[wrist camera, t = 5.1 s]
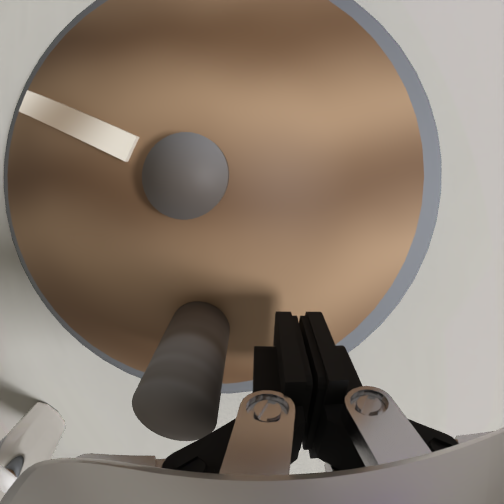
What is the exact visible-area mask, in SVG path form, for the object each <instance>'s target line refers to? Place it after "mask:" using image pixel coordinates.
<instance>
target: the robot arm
mask: <svg viewBox="0 0 504 504" xmlns="http://www.w3.org/2000/svg"><path fill="white" fill-rule="evenodd" d="M301 444H302V445H303V449H304V450H309V453H310V458H319V459H321V460H322V461H324V462H325V465H324V466H325V471H326V472H322V473H310V474H294V475H289V470H290V464H292V463H293V462H294V461H295V460H296V459H297V458H298V453H299V450H300V448H301ZM0 504H504V428H501V429H499V430H496V431H492V432H485V433H478V434H469V435H460V436H456V438H455V439H454V438H452V437H451V436H449V435H447V434H445V433H442V432H440V431H437V430H434V429H432V428H429V427H427V426H424V425H422V424H419V423H417V422H414V421H412V420H409V419H407V418H406V416H405V415H404V414H403V412H402V411H401V409H400V408H399V407H398V405H397V404H396V403H395V401H394V400H393V399H392V397H391V396H390V395H389V394H388V393H387V392H385V391H383V390H381V389H379V388H376V387H370V386H362V384H361V382H360V379H359V377H358V375H357V373H356V370H355V368H354V366H353V364H352V361H351V359H350V357H349V355H348V352H347V350H346V348H345V347H344V346H343V345H338V346H336V345H335V343H334V340H333V338H332V335H331V333H330V331H329V328H328V326H327V323H326V321H325V319H324V316H323V314H322V312H306V313H305V316H300V319H299V321H298V318H297V316H292V313H291V312H282V311H276V313H275V325H274V340H273V346H254V360H253V393H251V394H249V395H247V396H246V397H245V398H244V399H243V400H242V402H241V404H240V407H239V411H238V414H237V417H236V419H234V420H232V421H231V422H229V423H227V424H226V425H224V426H222V427H221V428H219V429H217V430H215V431H214V432H212V433H210V434H208V435H206V436H205V437H203V438H201V439H199V440H197V441H195V442H194V443H192V444H190V445H188V446H186V447H184V448H182V449H180V450H178V451H176V452H174V453H173V454H171V455H170V456H168V457H167V458H166V459H156V457H155V456H129V455H106V454H93V453H91V454H83V455H80V456H78V457H76V458H58V459H50V460H44V461H41V462H38V463H35V464H33V465H32V466H30V467H28V468H27V469H26V470H25V471H24V472H23V473H22V474H21V475H20V476H19V477H18V478H17V479H16V480H15V482H14V483H13V484H12V485H11V487H10V488H9V489H8V491H7V492H6V494H5V495H4V497H3V498H2V500H1V501H0Z"/></svg>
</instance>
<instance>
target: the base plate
mask: <svg viewBox="0 0 504 504" xmlns="http://www.w3.org/2000/svg"><path fill="white" fill-rule="evenodd" d="M106 1H108V0H96V1H95V2H94V3H92V4H91V5H90V6H88V7H87V8H86V9H85V10H83V11H82V12H81V13H80V14H78V15H77V16H76V17H75V18H74V19H73V20H72V21H71V22H70V23H69V24H68V25H67V26H66V27H65V28H64V29H63V30H62V31H61V32H60V33H59V34H58V36H57V37H56V38H55V39H54V40H53V42H52V43H51V44H50V46H49V47H48V48H47V50H46V51H45V52H44V54H43V55H42V56H41V58H40V59H39V61H38V63H37V64H36V66H35V68H34V70H33V71H32V73H31V75H30V77H29V78H28V80H27V82H26V84H25V86H24V89H23V91H22V93H21V96H20V98H19V101H18V103H17V106H16V108H15V112H14V115H13V119H12V122H11V126H10V130H9V134H8V140H7V146H6V153H5V161H4V194H5V204H6V213H7V218H8V222H9V227H10V231H11V235H12V239H13V242H14V245H15V248H16V251H17V253H18V256H19V259H20V262H21V264H22V266H23V268H24V270H25V272H26V274H27V276H28V278H29V280H30V282H31V284H32V286H33V287H34V289H35V291H36V292H37V294H38V295H39V297H40V298H41V300H42V301H43V303H44V304H45V306H46V307H47V308H48V310H49V311H50V312H51V313H52V314H53V316H54V317H55V318H56V319H57V320H58V321H59V323H60V324H61V325H62V326H63V327H64V328H65V329H66V330H67V331H68V332H69V333H70V334H71V335H72V336H74V337H75V338H76V339H77V340H78V341H79V342H80V343H81V344H82V345H84V346H85V347H86V348H88V349H89V350H90V351H92V352H93V353H95V354H96V355H97V356H99V357H100V358H102V359H103V360H105V361H107V362H108V363H110V364H112V365H114V366H116V367H117V368H119V369H121V370H123V371H125V372H127V373H129V374H131V375H134V376H136V377H139V378H141V379H142V377H143V375H144V373H145V372H142V371H139V370H136V369H134V368H132V367H129V366H127V365H125V364H123V363H121V362H119V361H117V360H115V359H113V358H111V357H110V356H108V355H106V354H105V353H103V352H102V351H100V350H99V349H97V348H96V347H94V346H92V345H91V344H90V343H89V342H87V341H86V340H85V339H84V338H82V337H81V336H80V335H79V334H78V333H76V332H75V331H74V330H73V329H72V328H71V327H70V326H69V325H68V324H67V323H66V322H65V321H64V320H63V319H62V318H61V317H60V316H59V315H58V313H57V312H56V311H55V310H54V309H53V307H52V306H51V305H50V303H49V302H48V301H47V299H46V298H45V297H44V295H43V294H42V293H41V291H40V289H39V288H38V286H37V284H36V282H35V281H34V279H33V277H32V275H31V274H30V272H29V270H28V268H27V265H26V263H25V261H24V258H23V256H22V254H21V251H20V249H19V246H18V242H17V239H16V236H15V232H14V228H13V225H12V219H11V213H10V207H9V200H8V177H7V174H8V160H9V150H10V144H11V139H12V135H13V130H14V126H15V122H16V119H17V116H18V113H19V109H20V106H21V104H22V101H23V99H24V96H25V94H26V92H27V90H28V88H29V86H30V84H31V82H32V80H33V78H34V76H35V75H36V73H37V72H38V70H39V69H40V67H41V65H42V64H43V62H44V61H45V59H46V58H47V56H48V55H49V54H50V52H51V51H52V50H53V49H54V48H55V46H56V45H57V44H58V43H59V42H60V40H61V39H62V38H63V37H64V36H65V35H66V34H67V33H68V32H69V31H70V30H71V29H72V28H73V27H74V26H75V25H76V24H77V23H78V22H80V21H81V20H82V19H83V18H84V17H85V16H86V15H88V14H89V13H90V12H92V11H93V10H95V9H96V8H97V7H99V6H100V5H102V4H103V3H105V2H106ZM329 1H330V2H332V3H333V4H335V5H336V6H337V7H339V8H340V9H341V10H343V11H344V12H346V13H347V14H348V15H350V16H351V17H352V18H353V19H354V20H355V21H356V22H357V23H358V24H359V25H361V26H362V27H363V28H364V29H365V30H366V31H367V32H368V33H369V34H370V35H371V36H372V37H373V39H374V40H375V41H376V42H377V44H378V45H379V46H380V47H381V49H382V50H383V51H384V53H385V54H386V55H387V57H388V58H389V60H390V61H391V62H392V64H393V66H394V68H395V69H396V71H397V73H398V75H399V77H400V78H401V80H402V82H403V84H404V86H405V88H406V90H407V93H408V96H409V98H410V101H411V104H412V106H413V109H414V112H415V115H416V118H417V123H418V127H419V132H420V137H421V142H422V149H423V163H424V185H423V197H422V206H421V211H420V215H419V220H418V224H417V228H416V233H415V236H414V238H413V241H412V244H411V247H410V249H409V252H408V254H407V257H406V259H405V262H404V264H403V266H402V267H401V269H400V271H399V273H398V275H397V277H396V278H395V280H394V282H393V284H392V286H391V287H390V288H389V290H388V291H387V293H386V294H385V295H384V297H383V298H382V299H381V301H380V302H379V304H378V305H377V306H376V308H375V309H374V310H373V311H372V312H371V313H370V314H369V315H368V316H367V317H366V318H365V319H364V320H363V321H362V322H361V324H360V325H359V326H358V327H357V328H356V329H355V330H353V331H352V332H351V333H350V334H348V335H347V336H346V337H345V338H343V339H342V340H341V341H340V342H338V343H337V344H336V346H338V345H343V346H344V347H345V348H346V350H347V352H349V351H351V350H352V349H354V348H355V347H356V346H358V345H359V344H360V343H361V342H363V341H364V340H365V339H366V338H367V337H368V336H369V335H370V334H371V333H372V332H374V331H375V330H376V329H377V328H378V327H379V326H380V325H381V324H382V323H383V321H384V320H385V319H386V318H387V317H388V316H389V314H390V313H391V312H392V311H393V310H394V308H395V307H396V306H397V305H398V304H399V302H400V301H401V299H402V298H403V296H404V295H405V293H406V291H407V290H408V288H409V287H410V285H411V284H412V282H413V280H414V279H415V277H416V275H417V273H418V271H419V268H420V266H421V264H422V262H423V260H424V257H425V255H426V253H427V251H428V248H429V244H430V241H431V238H432V235H433V231H434V228H435V224H436V220H437V214H438V208H439V202H440V195H441V154H440V146H439V138H438V132H437V127H436V123H435V120H434V116H433V113H432V109H431V106H430V103H429V100H428V97H427V95H426V93H425V90H424V88H423V86H422V84H421V81H420V79H419V77H418V75H417V73H416V71H415V69H414V68H413V66H412V64H411V63H410V61H409V60H408V58H407V57H406V55H405V53H404V52H403V50H402V49H401V47H400V46H399V45H398V43H397V42H396V41H395V40H394V39H393V37H392V36H391V35H390V34H389V33H388V32H387V31H386V29H385V28H384V27H383V26H382V25H381V24H380V23H379V22H378V21H377V20H376V19H375V18H374V17H373V16H372V15H370V14H369V13H368V12H367V11H366V10H365V9H363V8H362V7H361V6H360V5H359V4H357V3H356V2H355V1H354V0H329ZM248 391H253V380H251V381H245V382H239V383H229V384H222V389H221V393H238V392H248Z"/></svg>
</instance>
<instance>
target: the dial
mask: <svg viewBox="0 0 504 504" xmlns="http://www.w3.org/2000/svg"><path fill="white" fill-rule="evenodd" d="M7 177H8V200H9V207H10V213H11V219H12V225H13V228H14V232H15V236H16V239H17V242H18V246H19V249H20V251H21V254H22V256H23V258H24V261H25V263H26V265H27V268H28V270H29V272H30V274H31V275H32V277H33V279H34V281H35V282H36V284H37V286H38V288H39V289H40V291H41V293H42V294H43V295H44V297H45V298H46V299H47V301H48V302H49V303H50V305H51V306H52V307H53V309H54V310H55V311H56V312H57V313H58V315H59V316H60V317H61V318H62V319H63V320H64V321H65V322H66V323H67V324H68V325H69V326H70V327H71V328H72V329H73V330H74V331H75V332H76V333H78V334H79V335H80V336H81V337H82V338H84V339H85V340H86V341H87V342H89V343H90V344H91V345H92V346H94V347H96V348H97V349H99V350H100V351H102V352H103V353H105V354H106V355H108V356H110V357H111V358H113V359H115V360H117V361H119V362H121V363H123V364H125V365H127V366H129V367H132V368H134V369H136V370H139V371H142V372H145V373H144V375H143V377H142V379H141V381H140V383H139V385H138V387H137V389H136V391H135V393H134V395H133V399H132V407H133V410H134V413H135V415H136V416H137V418H138V419H139V420H140V422H141V423H142V424H143V425H145V426H146V427H147V428H148V429H150V430H151V431H153V432H155V433H156V434H158V435H160V436H163V437H166V438H169V439H173V440H179V441H193V440H198V439H201V438H203V437H205V436H206V435H208V434H210V433H211V432H212V431H213V430H214V429H215V427H216V424H217V417H218V410H219V403H220V396H221V389H222V384H229V383H239V382H245V381H251V380H253V360H254V346H273V340H274V325H275V313H276V311H282V312H291V313H292V316H297V318H298V321H299V319H300V316H305V313H306V312H322V314H323V316H324V319H325V321H326V323H327V326H328V328H329V331H330V333H331V335H332V338H333V340H334V343H335V345H336V344H337V343H338V342H340V341H341V340H342V339H343V338H345V337H346V336H347V335H348V334H350V333H351V332H352V331H353V330H355V329H356V328H357V327H358V326H359V325H360V324H361V322H362V321H363V320H364V319H365V318H366V317H367V316H368V315H369V314H370V313H371V312H372V311H373V310H374V309H375V308H376V306H377V305H378V304H379V302H380V301H381V299H382V298H383V297H384V295H385V294H386V293H387V291H388V290H389V288H390V287H391V286H392V284H393V282H394V280H395V278H396V277H397V275H398V273H399V271H400V269H401V267H402V266H403V264H404V262H405V259H406V257H407V254H408V252H409V249H410V247H411V244H412V241H413V238H414V236H415V233H416V228H417V224H418V220H419V215H420V211H421V206H422V197H423V185H424V163H423V149H422V142H421V137H420V132H419V127H418V123H417V118H416V115H415V112H414V109H413V106H412V104H411V101H410V98H409V96H408V93H407V90H406V88H405V86H404V84H403V82H402V80H401V78H400V77H399V75H398V73H397V71H396V69H395V68H394V66H393V64H392V62H391V61H390V60H389V58H388V57H387V55H386V54H385V53H384V51H383V50H382V49H381V47H380V46H379V45H378V44H377V42H376V41H375V40H374V39H373V37H372V36H371V35H370V34H369V33H368V32H367V31H366V30H365V29H364V28H363V27H362V26H361V25H359V24H358V23H357V22H356V21H355V20H354V19H353V18H352V17H351V16H350V15H348V14H347V13H346V12H344V11H343V10H341V9H340V8H339V7H337V6H336V5H335V4H333V3H332V2H330V1H329V0H108V1H106V2H105V3H103V4H102V5H100V6H99V7H97V8H96V9H95V10H93V11H92V12H90V13H89V14H88V15H86V16H85V17H84V18H83V19H82V20H81V21H80V22H78V23H77V24H76V25H75V26H74V27H73V28H72V29H71V30H70V31H69V32H68V33H67V34H66V35H65V36H64V37H63V38H62V39H61V40H60V42H59V43H58V44H57V45H56V46H55V48H54V49H53V50H52V51H51V52H50V54H49V55H48V56H47V58H46V59H45V61H44V62H43V64H42V65H41V67H40V69H39V70H38V72H37V73H36V75H35V76H34V78H33V80H32V82H31V84H30V86H29V88H28V90H27V92H26V94H25V96H24V99H23V101H22V104H21V106H20V109H19V113H18V116H17V119H16V122H15V126H14V130H13V135H12V139H11V144H10V150H9V160H8V174H7Z"/></svg>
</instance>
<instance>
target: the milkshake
mask: <svg viewBox="0 0 504 504" xmlns="http://www.w3.org/2000/svg"><path fill="white" fill-rule="evenodd" d="M65 429H66V426H65V420H64V419H63V418H62V416H61V415H60V414H59V413H58V411H56V410H55V409H54V408H52V407H51V406H50V405H48V404H45V403H42V402H38V403H36V404H35V405H34V406H33V407H32V408H31V409H30V410H29V411H28V412H27V413H26V414H25V415H24V416H23V417H22V418H21V419H20V421H19V422H18V423H17V424H16V425H15V426H14V427H13V428H12V429H11V430H10V432H9V433H8V434H7V435H6V436H5V437H4V438H3V439H2V440H1V441H0V490H1V491H2V492H4V493H6V492H7V491H8V489H9V488H10V487H11V485H12V484H13V483H14V482H15V480H16V479H17V478H18V477H19V476H20V475H21V474H22V473H23V472H24V471H25V470H26V469H27V468H28V467H30V466H32V465H33V464H35V463H38V462H41V461H44V460H50V459H51V458H52V456H53V454H54V452H55V450H56V448H57V446H58V443H59V441H60V439H61V437H62V435H63V433H64V431H65Z"/></svg>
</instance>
